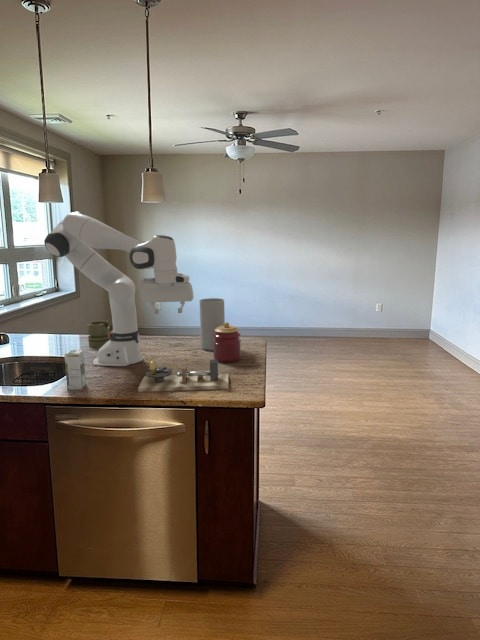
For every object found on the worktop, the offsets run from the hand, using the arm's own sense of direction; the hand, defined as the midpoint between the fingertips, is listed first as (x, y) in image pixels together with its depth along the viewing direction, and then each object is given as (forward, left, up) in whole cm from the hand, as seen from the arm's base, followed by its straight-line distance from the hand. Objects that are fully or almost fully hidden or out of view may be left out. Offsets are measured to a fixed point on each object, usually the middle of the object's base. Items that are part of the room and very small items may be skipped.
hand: (168, 313), depth 168 cm
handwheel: (-4, -5, -23) cm, 24 cm away
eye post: (+6, -5, -26) cm, 27 cm away
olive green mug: (-46, +63, -28) cm, 83 cm away
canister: (+23, +28, -28) cm, 46 cm away
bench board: (+6, -5, -28) cm, 29 cm away
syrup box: (-36, -5, -28) cm, 46 cm away
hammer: (+11, -5, -26) cm, 29 cm away
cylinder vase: (+16, +49, -28) cm, 59 cm away
